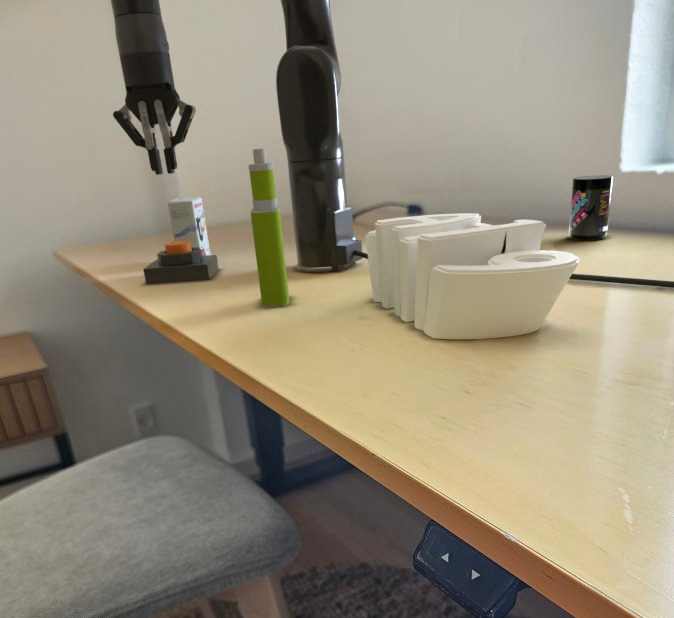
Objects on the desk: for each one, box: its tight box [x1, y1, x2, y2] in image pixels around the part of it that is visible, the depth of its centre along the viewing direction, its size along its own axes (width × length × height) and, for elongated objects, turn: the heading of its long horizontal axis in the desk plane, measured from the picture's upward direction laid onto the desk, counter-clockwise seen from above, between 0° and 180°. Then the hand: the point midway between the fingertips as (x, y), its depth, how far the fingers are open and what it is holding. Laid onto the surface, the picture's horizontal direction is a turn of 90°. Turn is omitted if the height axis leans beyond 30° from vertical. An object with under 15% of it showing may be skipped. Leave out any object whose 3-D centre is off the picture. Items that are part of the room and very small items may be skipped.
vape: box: [248, 148, 290, 308], centre depth 90 cm, size 4×6×20 cm, turn 2°
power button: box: [164, 241, 192, 254], centre depth 114 cm, size 4×4×2 cm
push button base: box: [143, 247, 220, 285], centre depth 115 cm, size 11×9×4 cm
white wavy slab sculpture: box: [364, 212, 581, 340], centre depth 81 cm, size 35×16×11 cm, turn 14°
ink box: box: [167, 196, 212, 256], centre depth 126 cm, size 9×5×12 cm, turn 179°
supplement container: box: [568, 174, 614, 242], centre depth 119 cm, size 7×7×10 cm
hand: (165, 173), depth 108 cm, fingers closed
